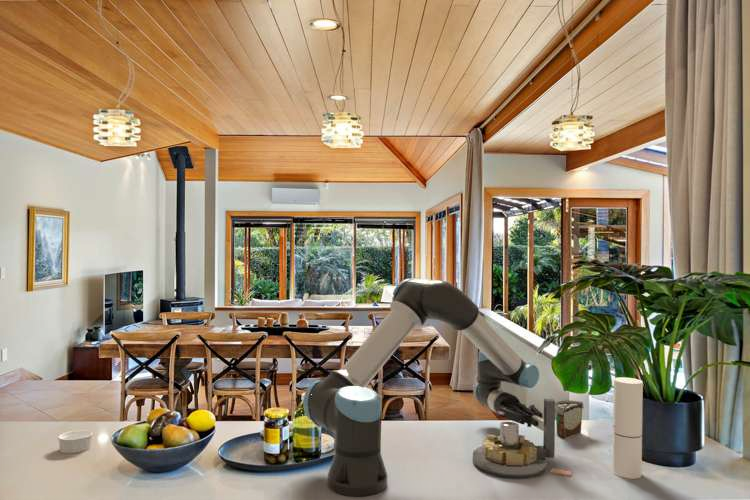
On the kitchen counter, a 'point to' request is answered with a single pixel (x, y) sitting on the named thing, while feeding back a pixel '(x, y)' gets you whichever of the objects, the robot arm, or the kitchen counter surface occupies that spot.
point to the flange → (509, 442)
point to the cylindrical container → (627, 427)
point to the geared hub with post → (524, 443)
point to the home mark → (561, 472)
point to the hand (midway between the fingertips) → (546, 427)
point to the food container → (568, 418)
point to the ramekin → (75, 441)
